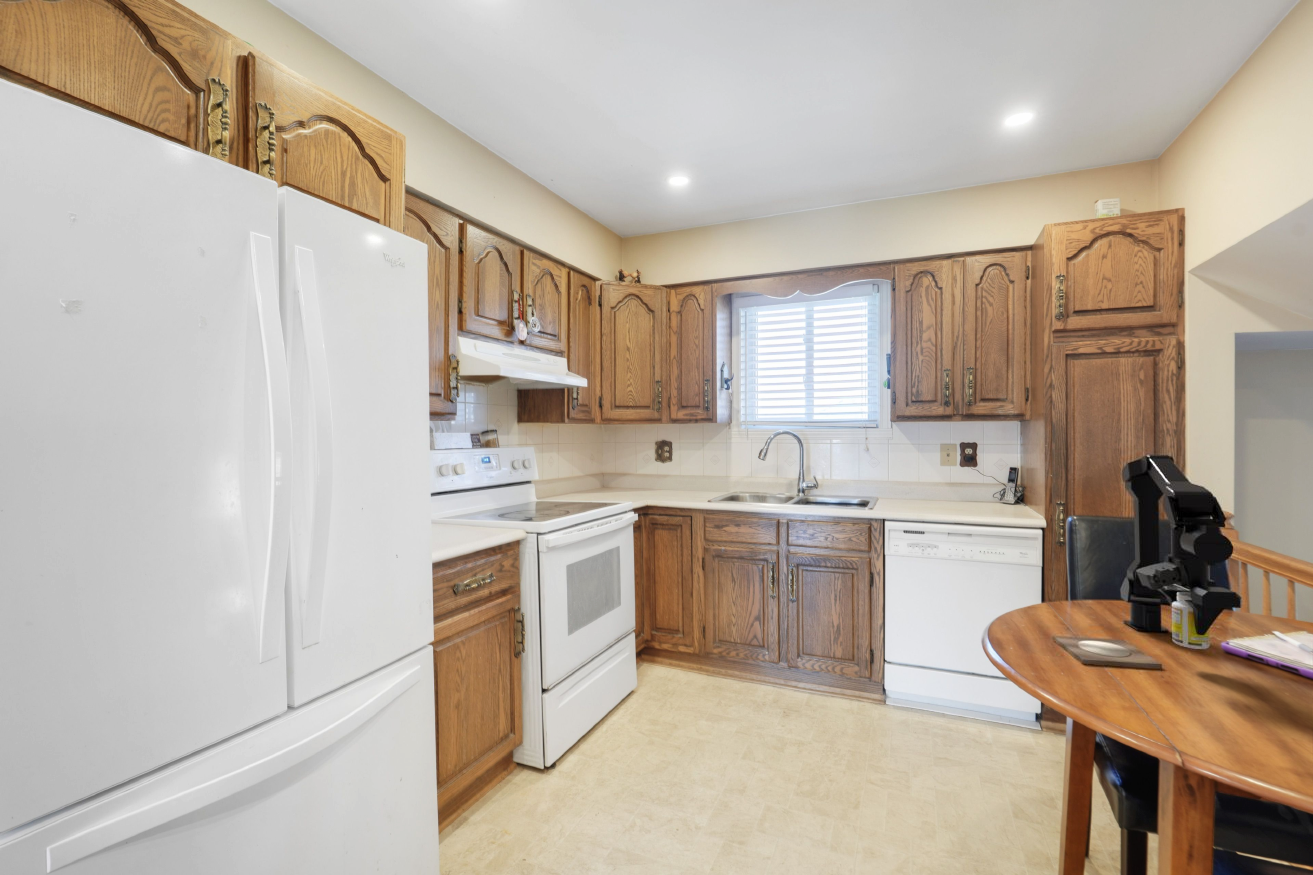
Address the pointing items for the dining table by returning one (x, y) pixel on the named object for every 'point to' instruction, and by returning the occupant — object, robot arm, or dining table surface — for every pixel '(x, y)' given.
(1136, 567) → the robot arm
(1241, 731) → the dining table surface
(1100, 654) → the board
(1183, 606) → the supplement bottle
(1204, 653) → the dining table surface
